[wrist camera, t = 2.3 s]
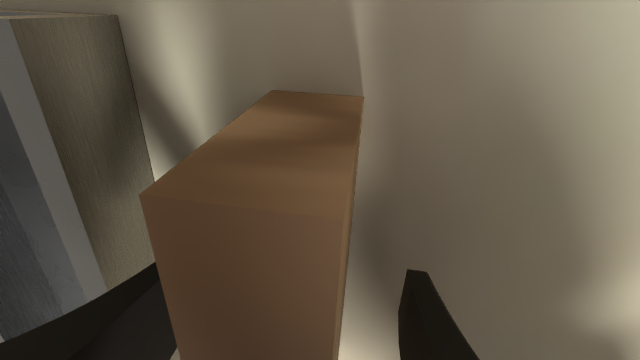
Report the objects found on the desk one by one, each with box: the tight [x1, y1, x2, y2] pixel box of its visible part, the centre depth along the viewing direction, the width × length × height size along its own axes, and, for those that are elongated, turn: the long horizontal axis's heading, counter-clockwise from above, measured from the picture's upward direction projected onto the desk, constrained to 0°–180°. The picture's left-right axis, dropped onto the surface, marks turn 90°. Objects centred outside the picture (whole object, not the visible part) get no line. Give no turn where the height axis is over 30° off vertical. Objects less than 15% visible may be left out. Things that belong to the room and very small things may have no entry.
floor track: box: [0, 10, 181, 360], centre depth 15 cm, size 7×22×4 cm, turn 178°
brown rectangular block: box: [139, 90, 364, 360], centre depth 11 cm, size 3×12×7 cm, turn 178°
